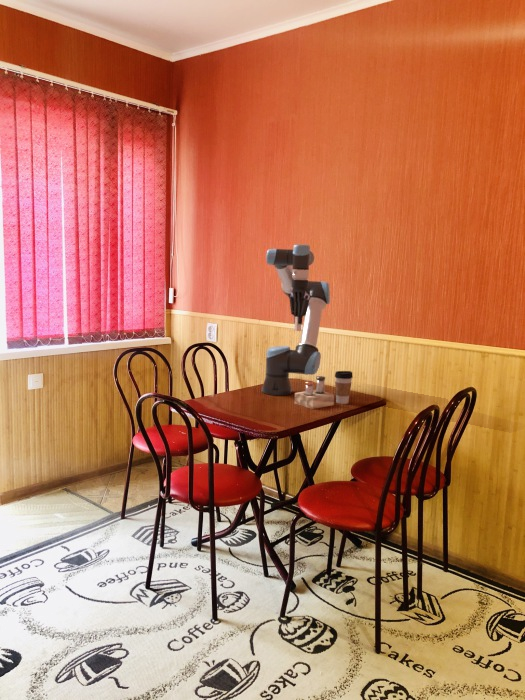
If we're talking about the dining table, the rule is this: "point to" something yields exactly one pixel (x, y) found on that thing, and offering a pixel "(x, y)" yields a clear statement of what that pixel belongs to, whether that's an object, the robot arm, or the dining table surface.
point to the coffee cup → (343, 386)
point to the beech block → (314, 399)
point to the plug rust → (309, 388)
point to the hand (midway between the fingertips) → (297, 330)
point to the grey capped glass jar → (320, 385)
